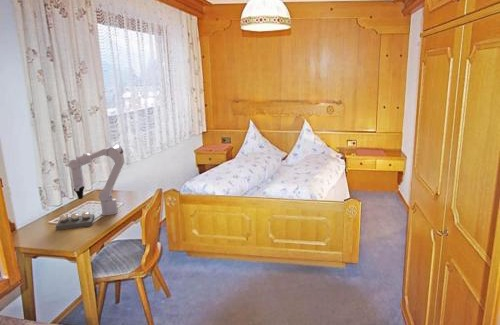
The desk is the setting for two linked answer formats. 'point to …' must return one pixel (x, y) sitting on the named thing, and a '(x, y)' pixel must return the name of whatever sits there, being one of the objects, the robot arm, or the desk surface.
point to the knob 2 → (86, 215)
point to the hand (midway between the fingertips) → (80, 198)
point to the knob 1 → (64, 218)
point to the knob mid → (75, 217)
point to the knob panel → (75, 223)
